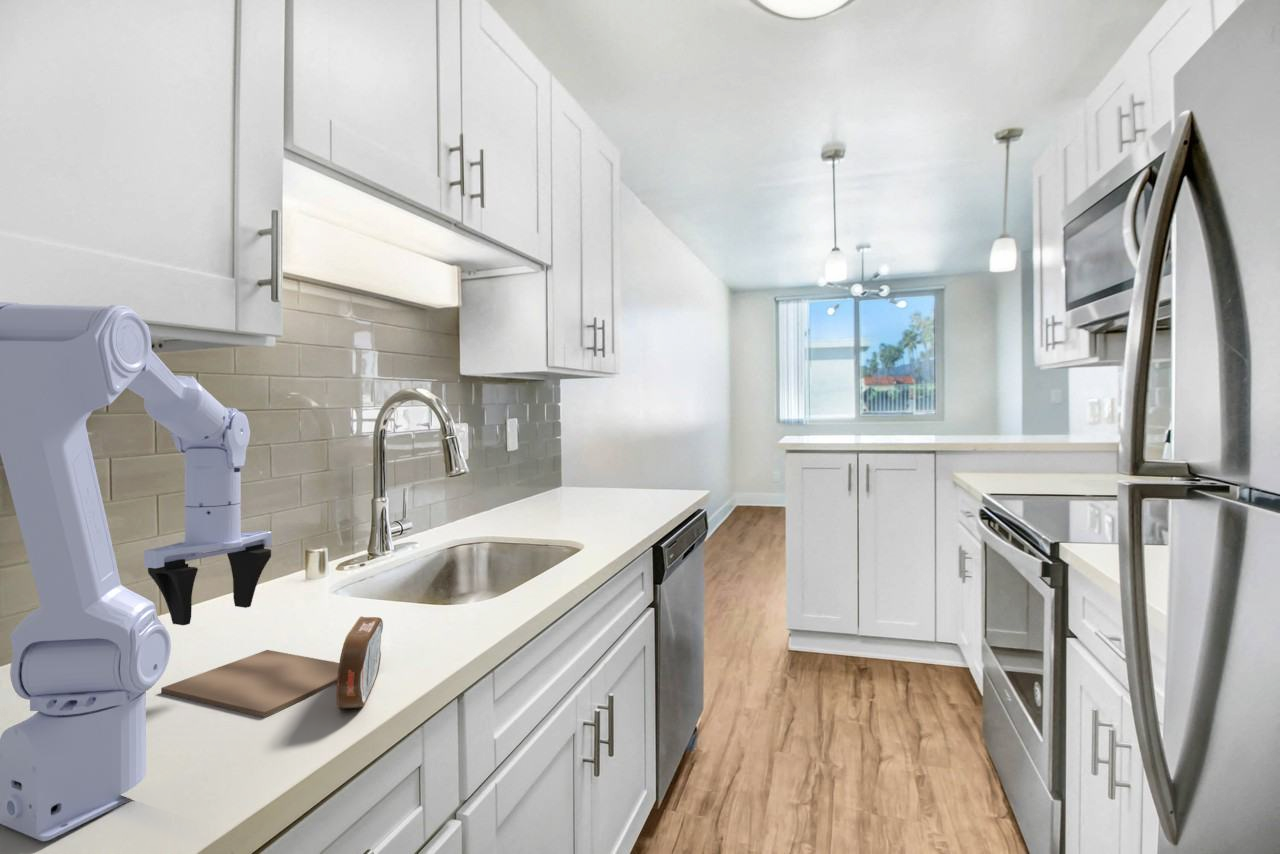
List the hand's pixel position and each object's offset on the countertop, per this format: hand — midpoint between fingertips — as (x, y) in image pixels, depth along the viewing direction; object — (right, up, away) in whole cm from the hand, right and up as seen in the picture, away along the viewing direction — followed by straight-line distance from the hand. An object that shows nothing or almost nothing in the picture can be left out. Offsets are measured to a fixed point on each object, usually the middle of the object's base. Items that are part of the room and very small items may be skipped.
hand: (213, 614), depth 77 cm
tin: (+19, -10, -1) cm, 21 cm away
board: (+5, -9, +3) cm, 11 cm away
